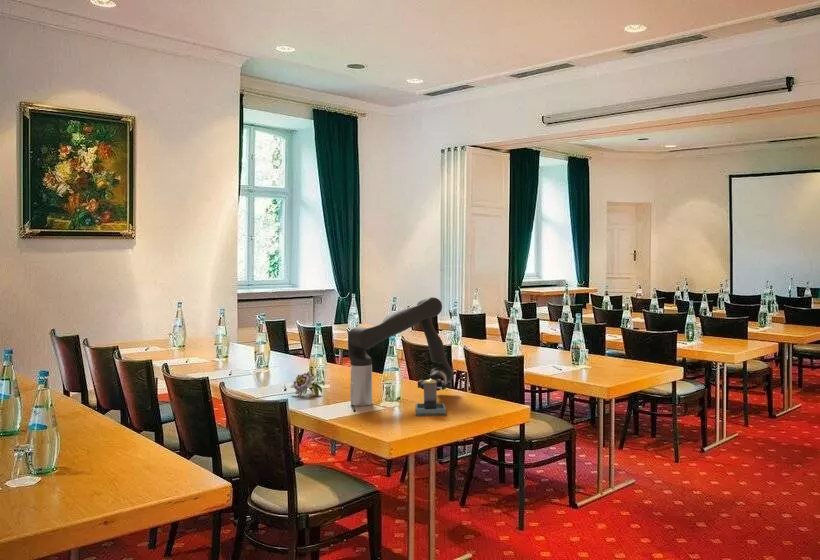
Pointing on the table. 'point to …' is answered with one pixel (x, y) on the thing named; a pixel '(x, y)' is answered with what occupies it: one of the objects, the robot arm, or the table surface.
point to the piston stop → (430, 394)
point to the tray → (430, 410)
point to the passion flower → (306, 384)
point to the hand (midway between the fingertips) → (432, 387)
